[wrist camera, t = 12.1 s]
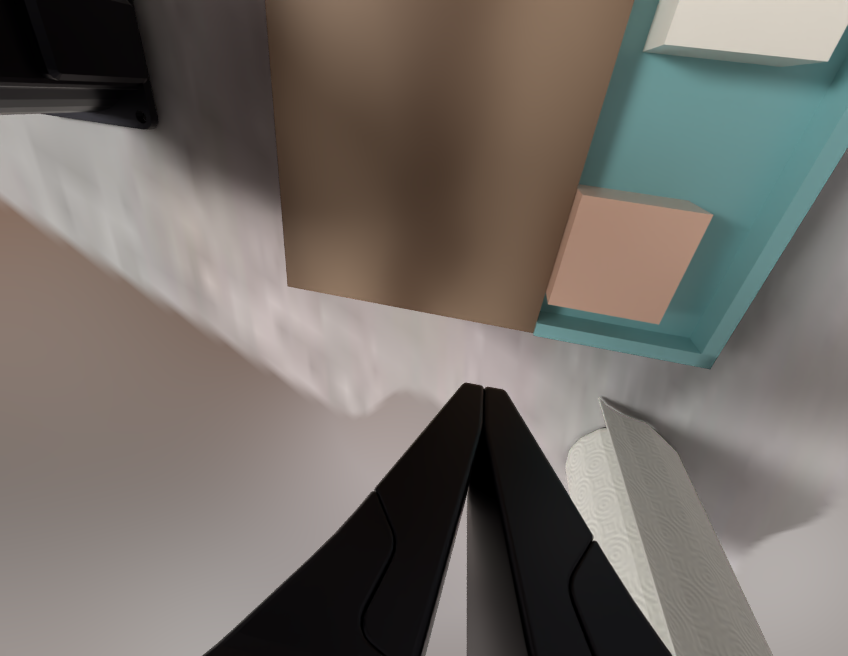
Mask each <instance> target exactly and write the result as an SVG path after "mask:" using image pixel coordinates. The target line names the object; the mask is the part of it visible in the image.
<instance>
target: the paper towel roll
mask: <svg viewBox="0 0 848 656" xmlns="http://www.w3.org/2000/svg"><path fill="white" fill-rule="evenodd" d="M598 400H599V404H600V407H601V410H602V414H603V417H604V421H605V424H606V427H607V428H603V429H598V430H596V431H594V432H592V433H590V434H588V435H586V436H583V437H581V438H580V439H579V440H578V441H577V442H576V443H575V444H574V446H573V447H572V448H571V449H570V450H569V454H568V458H567V462H566V465H565V468H566V474H567V481H568V488H569V494H570V498H571V500H572V501H573V503H574V504H575V506H576V508H577V509H578V511H579V513H580V514H581V516H582V518H583V519H584V521H585V523H586V524H587V526H588V528H589V529H590V531H591V533H592V534H593V536H594V539H593V541H594V540H595V541H597V542H598V544H599V545H600V547H601V549H602V550H603V552H604V554H605V555H606V557H607V559H608V560H609V562H610V564H611V565H612V567H613V568H614V570H615V571H616V573H617V575H618V576H619V578H620V579H621V581H622V582H623V584H624V586H625V587H626V589H627V590H628V592H629V593H630V595H631V597H632V598H633V600H634V601H635V603H636V604H637V606H638V607H639V608H640V610H641V611H642V613H643V614H644V616H645V617H646V618H647V620H648V621H649V623H650V624H651V626H652V627H653V628H654V630H655V631H656V633H657V634H658V636H659V637H660V639H661V640H662V641H663V643H664V644H665V646H666V647H667V648H668V650H669V651H670V653H671V654H672V655H673V656H773V654H772V652H771V650H770V648H769V646H768V644H767V642H766V640H765V638H764V635H763V633H762V631H761V629H760V627H759V625H758V623H757V621H756V619H755V616H754V614H753V612H752V610H751V608H750V606H749V604H748V602H747V599H746V597H745V595H744V593H743V591H742V589H741V587H740V585H739V582H738V580H737V578H736V576H735V574H734V572H733V570H732V568H731V565H730V563H729V561H728V559H727V557H726V555H725V553H724V551H723V549H722V546H721V544H720V542H719V540H718V538H717V536H716V534H715V532H714V529H713V527H712V525H711V523H710V521H709V519H708V517H707V515H706V512H705V510H704V508H703V506H702V504H701V502H700V500H699V498H698V496H697V493H696V491H695V489H694V487H693V485H692V483H691V481H690V479H689V476H688V474H687V472H686V470H685V468H684V466H683V464H682V462H681V459H680V457H679V455H678V453H677V452H676V451H675V450H674V449H673V448H672V447H671V446H670V445H669V444H668V443H667V442H666V441H665V440H664V439H663V438H662V437H661V436H660V435H659V434H658V433H657V432H656V431H655V430H654V429H652V428H651V427H650V426H649V425H648V424H647V423H644V422H642V421H639V420H636V419H633V418H631V417H628V416H625V415H622V414H620V413H618V412H617V411H615V410H613V409H612V408H610V407H608V406H607V405H605V403H604V402H603V401H602V400H601V399H600V398H598Z"/></svg>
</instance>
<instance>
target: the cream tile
mask: <svg viewBox="0 0 848 656" xmlns="http://www.w3.org/2000/svg"><path fill="white" fill-rule="evenodd" d="M847 25H848V0H659V3H658V6H657V9H656V12H655V15H654V18H653V21H652V24H651V27H650V30H649V33H648V36H647V39H646V42H645V46H644V49H643V52H647V53H657V54H666V55H675V56H684V57H694V58H703V59H712V60H722V61H731V62H740V63H749V64H759V65H768V66H777V67H786V66H795V65H803V64H812V63H821V62H828V60H829V59H830V57H831V55H832V53H833V51H834V49H835V47H836V46H837V44H838V42H839V40H840V38H841V36H842V34H843V32H844V31H845V29H846V27H847Z"/></svg>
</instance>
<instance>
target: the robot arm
mask: <svg viewBox="0 0 848 656" xmlns="http://www.w3.org/2000/svg"><path fill="white" fill-rule="evenodd" d="M143 113H144V114H145V116H146V121H145V120H144V118H143ZM12 114H46V115H52V116H59V117H65V118H72V119H79V120H85V121H92V122H98V123H105V124H111V125H118V126H124V127H131V128H138V129H154V128H156V127H157V125H158V116H157V112H156V107H155V103H154V98H153V93H152V89H151V84H150V80H149V75H148V70H147V66H146V61H145V57H144V52H143V47H142V43H141V38H140V34H139V29H138V24H137V20H136V15H135V11H134V6H133V1H132V0H0V115H12ZM467 492H468V495H467ZM466 496H467V656H673V655H672V654H671V653H670V651H669V650H668V648H667V647H666V646H665V644H664V643H663V641H662V640H661V639H660V637H659V636H658V634H657V633H656V631H655V630H654V628H653V627H652V626H651V624H650V623H649V621H648V620H647V618H646V617H645V616H644V614H643V613H642V611H641V610H640V608H639V607H638V606H637V604H636V603H635V601H634V600H633V598H632V597H631V595H630V593H629V592H628V590H627V589H626V587H625V586H624V584H623V582H622V581H621V579H620V578H619V576H618V575H617V573H616V571H615V570H614V568H613V567H612V565H611V564H610V562H609V560H608V559H607V557H606V555H605V554H604V552H603V550H602V549H601V547H600V545H599V544H598V542H597V541H595V540H594V541H593V539H594V536H593V534H592V533H591V531H590V529H589V528H588V526H587V524H586V523H585V521H584V519H583V518H582V516H581V514H580V513H579V511H578V509H577V508H576V506H575V504H574V503H573V501H572V500H571V498H570V496H569V495H568V493H567V491H566V490H565V488H564V486H563V485H562V483H561V481H560V480H559V478H558V476H557V475H556V473H555V471H554V470H553V468H552V467H551V465H550V463H549V462H548V460H547V458H546V457H545V455H544V453H543V452H542V450H541V448H540V447H539V445H538V443H537V442H536V440H535V438H534V437H533V435H532V434H531V432H530V430H529V429H528V427H527V425H526V424H525V422H524V420H523V419H522V417H521V415H520V414H519V412H518V410H517V409H516V407H515V405H514V404H513V402H512V401H511V399H510V397H509V396H508V394H507V392H506V391H505V390H503V389H498V388H492V387H485V389H484V388H483V386H481V385H476V384H471V383H464V384H462V385H461V387H460V388H459V389H458V390H457V391H456V393H455V394H454V395H453V396H452V397H451V398H450V400H449V401H448V402H447V403H446V404H445V406H444V407H443V408H442V409H441V410H440V411H439V413H438V414H437V415H436V416H435V418H434V419H433V420H432V421H431V422H430V423H429V425H428V426H427V427H426V428H425V429H424V431H423V432H422V433H421V434H420V435H419V437H418V438H417V439H416V440H415V441H414V443H413V444H412V445H411V446H410V447H409V448H408V450H407V451H406V452H405V453H404V454H403V456H402V457H401V458H400V459H399V460H398V461H397V462H396V464H395V465H394V466H393V467H392V468H391V470H390V471H389V472H388V473H387V474H386V476H385V477H384V478H383V479H382V480H381V482H380V483H379V484H378V485H377V486H376V487H375V489H374V491H373V492H371V493H370V494H369V495H368V497H367V498H366V499H365V500H364V501H363V503H362V504H361V505H360V506H359V507H358V508H357V510H356V511H355V512H354V513H353V514H352V515H351V516H350V517H349V518H348V520H347V521H346V522H345V523H344V524H343V525H342V526H341V527H340V528H339V529H338V531H337V532H336V533H335V534H334V535H333V536H332V537H331V538H330V539H328V541H326V542H325V543H324V544H323V545H322V546H321V547H320V548H319V549H318V550H317V551H316V552H315V553H314V554H313V555H312V556H311V557H310V558H309V559H308V560H307V561H306V562H305V563H304V564H303V565H302V566H301V567H300V568H298V569H297V571H295V572H294V573H293V574H292V575H291V576H290V577H289V578H288V579H287V580H286V581H284V582H283V583H282V584H281V585H280V586H279V587H278V588H277V589H276V590H275V591H274V592H273V593H272V594H271V595H269V596H268V597H267V598H266V599H265V600H264V601H263V602H262V603H261V604H260V605H259V606H258V607H257V608H255V609H254V610H253V611H252V612H251V613H250V614H249V615H248V616H247V617H246V618H245V619H244V620H243V621H241V622H240V623H239V624H238V625H237V626H236V627H235V628H234V629H233V630H232V631H231V632H229V633H228V634H227V635H226V636H225V637H224V638H223V639H222V640H221V641H219V642H218V643H217V644H216V645H215V646H214V647H213V648H211V649H210V650H209V651H207V652H206V653H205V654H204V655H203V656H425V655H426V651H427V647H428V643H429V639H430V635H431V632H432V628H433V624H434V620H435V616H436V612H437V608H438V604H439V601H440V597H441V593H442V589H443V585H444V581H445V577H446V573H447V570H448V566H449V562H450V558H451V554H452V550H453V547H454V543H455V539H456V535H457V531H458V527H459V523H460V519H461V516H462V512H463V508H464V504H465V500H466Z"/></svg>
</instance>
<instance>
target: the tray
mask: <svg viewBox="0 0 848 656" xmlns="http://www.w3.org/2000/svg"><path fill="white" fill-rule="evenodd" d="M658 3H659V0H634V3H633V7H632V10H631V13H630V17H629V20H628V23H627V26H626V30H625V33H624V36H623V40H622V43H621V46H620V49H619V53H618V56H617V59H616V63H615V66H614V69H613V72H612V76H611V79H610V82H609V86H608V89H607V92H606V95H605V99H604V102H603V105H602V109H601V112H600V115H599V119H598V122H597V125H596V128H595V132H594V135H593V138H592V142H591V145H590V148H589V151H588V155H587V158H586V161H585V165H584V168H583V171H582V174H581V178H580V181H579V184H581V185H588V186H595V187H601V188H608V189H615V190H621V191H628V192H635V193H641V194H648V195H654V196H661V197H668V198H674V199H681V200H688V201H690V202H692V203H694V204H695V205H697V206H699V207H701V208H702V209H704V210H706V211H708V212H709V213H711V214H713V217H712V219H711V221H710V223H709V225H708V227H707V229H706V231H705V233H704V235H703V237H702V239H701V241H700V243H699V245H698V247H697V249H696V251H695V253H694V255H693V257H692V259H691V261H690V263H689V265H688V267H687V269H686V271H685V273H684V275H683V277H682V279H681V281H680V283H679V285H678V287H677V289H676V291H675V293H674V295H673V297H672V299H671V301H670V303H669V305H668V307H667V309H666V311H665V313H664V315H663V317H662V319H661V321H660V323H659V324H653V323H648V322H642V321H637V320H631V319H626V318H620V317H615V316H610V315H604V314H599V313H593V312H588V311H582V310H577V309H571V308H566V307H560V306H555V305H549V304H548V301H547V296H546V293H545V296H544V299H543V303H542V306H541V309H540V313H539V316H538V319H537V322H536V326H535V329H534V332H533V335H534V336H539V337H544V338H549V339H554V340H560V341H565V342H570V343H575V344H581V345H586V346H591V347H596V348H602V349H607V350H612V351H617V352H623V353H628V354H633V355H638V356H643V357H649V358H654V359H659V360H664V361H670V362H675V363H680V364H685V365H691V366H696V367H701V368H706V369H711V367H712V365H713V364H714V362H715V361H716V359H717V357H718V356H719V354H720V352H721V351H722V349H723V348H724V346H725V344H726V343H727V341H728V340H729V338H730V336H731V335H732V333H733V332H734V330H735V328H736V327H737V325H738V323H739V322H740V320H741V319H742V317H743V315H744V314H745V312H746V311H747V309H748V307H749V306H750V304H751V302H752V301H753V299H754V298H755V296H756V294H757V293H758V291H759V290H760V288H761V286H762V285H763V283H764V282H765V280H766V278H767V277H768V275H769V273H770V272H771V270H772V269H773V267H774V265H775V264H776V262H777V261H778V259H779V257H780V256H781V254H782V253H783V251H784V249H785V248H786V246H787V244H788V243H789V241H790V240H791V238H792V236H793V235H794V233H795V232H796V230H797V228H798V227H799V225H800V224H801V222H802V220H803V219H804V217H805V215H806V214H807V212H808V211H809V209H810V207H811V206H812V204H813V203H814V201H815V199H816V198H817V196H818V194H819V193H820V191H821V190H822V188H823V186H824V185H825V183H826V182H827V180H828V178H829V177H830V175H831V174H832V172H833V170H834V169H835V167H836V165H837V164H838V162H839V161H840V159H841V157H842V156H843V154H844V153H845V151H846V149H847V148H848V25H847V27H846V29H845V31H844V32H843V34H842V36H841V38H840V40H839V42H838V44H837V46H836V47H835V49H834V51H833V53H832V55H831V57H830V59H829V60H828V62H821V63H812V64H803V65H795V66H786V67H777V66H768V65H759V64H749V63H740V62H731V61H722V60H712V59H703V58H694V57H684V56H675V55H666V54H657V53H647V52H643V49H644V46H645V42H646V39H647V36H648V33H649V30H650V27H651V24H652V21H653V18H654V15H655V12H656V9H657V6H658Z"/></svg>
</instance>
